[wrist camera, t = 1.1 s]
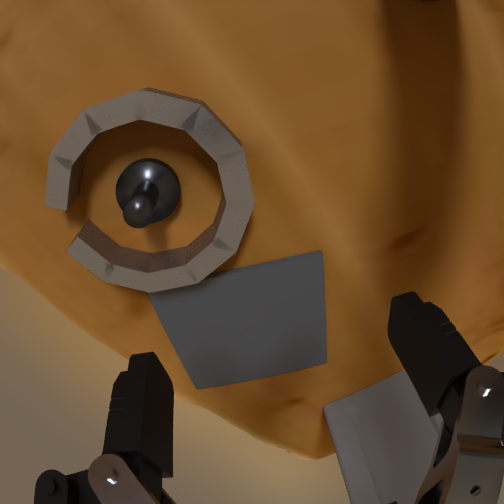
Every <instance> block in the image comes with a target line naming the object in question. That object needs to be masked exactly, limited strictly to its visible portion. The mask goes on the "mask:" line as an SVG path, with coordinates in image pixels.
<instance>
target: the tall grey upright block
mask: <svg viewBox="0 0 504 504" xmlns="http://www.w3.org/2000/svg"><path fill="white" fill-rule="evenodd" d="M323 411H324V414H325V418H326V421H327V424H328V428H329V431H330V434H331V438H332V441H333V444H334V448H335V451H336V454H337V458H338V461H339V465H340V468H341V471H342V475H343V478H344V482H345V485H346V489H347V492H348V496H349V499H350V502H351V504H389V503H391V502H394V501H397V504H414V503H415V500H416V497H417V495H418V492H419V489H420V487H421V484H422V482H423V480H424V478H425V477H426V475H427V473H428V470H429V467H430V464H431V461H432V457H433V454H434V450H435V446H436V443H437V439H438V435H439V430H440V426H441V422H442V420H443V418H442V416H441V414H440V413H438V414H436V415H434V416H432V417H429V415H428V413H427V411H426V409H425V407H424V405H423V403H422V401H421V399H420V397H419V395H418V393H417V391H416V390H415V388H414V386H413V384H412V382H411V380H410V378H409V376H408V374H407V373H406V371H405V369H404V370H402V371H400V372H398V373H396V374H394V375H392V376H390V377H388V378H386V379H384V380H382V381H380V382H377V383H375V384H373V385H371V386H369V387H367V388H365V389H362V390H360V391H358V392H356V393H353V394H351V395H349V396H346V397H344V398H342V399H339V400H337V401H335V402H332V403H330V404H327V405H325V406H324V407H323ZM500 501H501V500H500V498H498V502H497V504H498V503H499V502H500Z"/></svg>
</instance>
